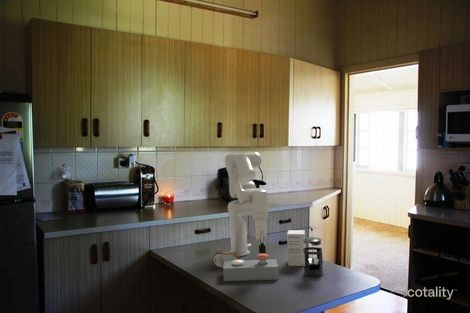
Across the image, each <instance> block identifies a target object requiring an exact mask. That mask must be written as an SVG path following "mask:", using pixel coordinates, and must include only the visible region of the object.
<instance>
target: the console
mask: <svg viewBox="0 0 470 313" xmlns="http://www.w3.org/2000/svg"><path fill="white" fill-rule="evenodd" d="M242 260H243V261H244V264H243V265H241V266H235V265H233V264H232V261H225V262H224V266H223V268H222V272H223V274H222V276H223V282H233V281H234V282H235V281H237V282H241V281H243V282H244V281H264V280H265V281H267V280H270V281H271V280H279V279H280V278H279V265H278V262H277V259H275V258H274V259H273V258H272V259H266V265H260V264H259V259H249V260H247V259H246V260H244V259H242Z"/></svg>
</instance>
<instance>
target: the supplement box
mask: <svg viewBox="0 0 470 313" xmlns="http://www.w3.org/2000/svg"><path fill="white" fill-rule="evenodd" d="M304 238H306V230H305V229H300V230H299V229H297V230H296V229H293V230H292V229H291V230H289V229H288V230H287V233H286V241H287V242H286V243H287V244H286V245H287V266H289V267H290V266H292V267H293V266H294V267H297V266H299V267H304V266H305V261H304V260H305V253H304V252H303V249H304V248H307V247H306V243H304V241H303V239H304Z"/></svg>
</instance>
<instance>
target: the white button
mask: <svg viewBox="0 0 470 313" xmlns="http://www.w3.org/2000/svg"><path fill="white" fill-rule="evenodd" d="M243 260H244V259H241V260H233V261H232V264H233V265H235V266H241V265H243V264H244V261H243Z"/></svg>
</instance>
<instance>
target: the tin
mask: <svg viewBox="0 0 470 313" xmlns="http://www.w3.org/2000/svg"><path fill="white" fill-rule="evenodd" d="M233 260H242V259H241V256H239V255H238V254H237V253H235V252H229V251H226V250H225V251H224V250H219V251H216V252H215V253H214V254H213V256H212V263H213V264H214V265H215V267H217V268H220V269H223V266H224V262H225V261H233Z"/></svg>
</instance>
